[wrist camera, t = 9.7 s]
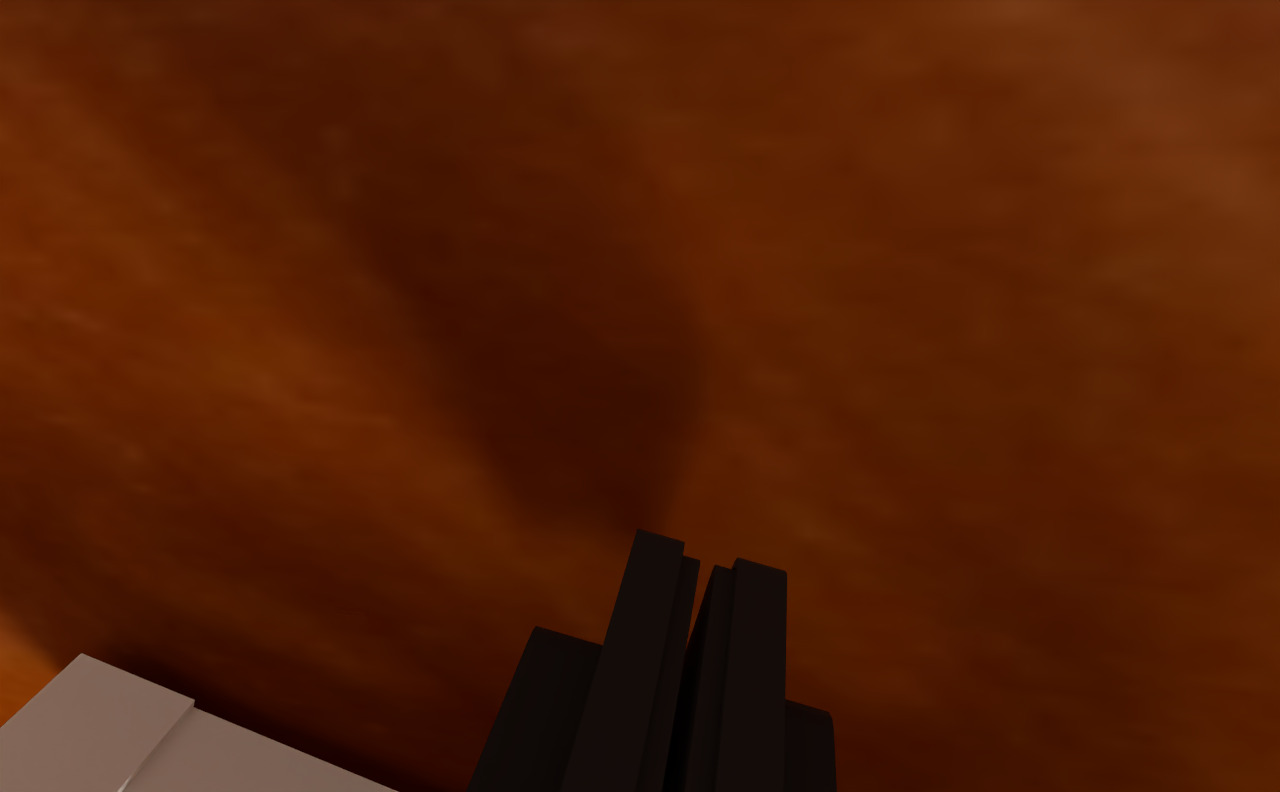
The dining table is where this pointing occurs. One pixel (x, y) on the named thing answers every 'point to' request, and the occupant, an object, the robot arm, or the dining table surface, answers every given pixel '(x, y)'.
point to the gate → (146, 743)
